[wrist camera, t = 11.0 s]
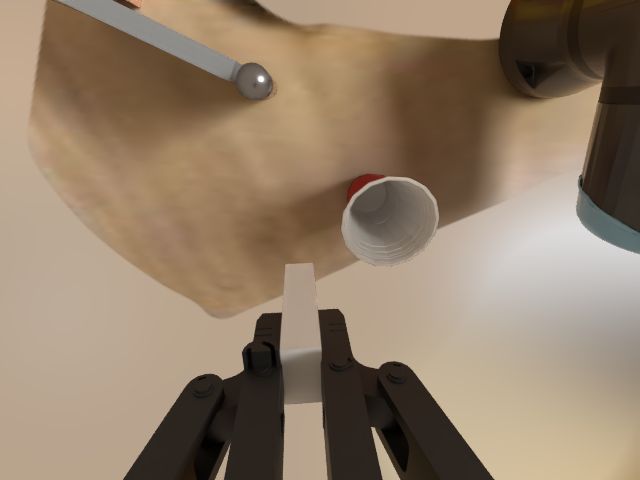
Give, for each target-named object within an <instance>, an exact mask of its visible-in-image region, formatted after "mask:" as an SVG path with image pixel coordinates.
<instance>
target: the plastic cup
mask: <svg viewBox="0 0 640 480" xmlns="http://www.w3.org/2000/svg"><path fill="white" fill-rule="evenodd" d="M438 222H439V212H438V207H437V201H436V199H435V198H434V197H433V195H432V194H431V193H430V191H429V190H428V189H427V187H426V186H424V185H422V184H420V183H418V182H416V181H414V180H413V179H411V178H407V177H390V176H383V175H375V174H366V175H364V176H361V177H359V178H357V179H356V180H355V181H354V182H353V183H352V185H351V187H350V188H349V190H348V202H347V207H346V209H345V210H344V212H343V218H342V227H341V232H342V235H343V238H344V241H345V244H346V247H347V248H348V249H349V250H350V251H351V252H352V253H353V254H354V255H355V256H356V257H357V258H358V259H360V260H362V261H365V262H367V263H369V264H372V265H379V266H393V265H396V264H400V263H403V262H406V261H409V260H410V259H412V258H414V257H415V256H416V255H418V254H419V253H421V252H422V251H424V250H425V248H426V247H427V246H428V244H429V243H430V241H431V240H432V239H433V237H434V236H435V233H436V229H437V225H438Z"/></svg>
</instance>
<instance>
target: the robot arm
mask: <svg viewBox="0 0 640 480" xmlns="http://www.w3.org/2000/svg"><path fill="white" fill-rule="evenodd" d="M499 51H500V59H501V63H502V67H503V70H504V72H505V74H506V76H507V78H508V79H509V81H510V82H511V83H512V85H513V86H514V87H515V88H517V89H518V90H519V91H521V92H522V93H524V94H526V95H529V96H532V97H538V98H558V97H564V96H569V95H572V94H575V93H577V92H580V91H582V90H585V89H587V88H589V87H592V86H594V85H596V84H599V83H601V82H602V87H601V92H600V97H599V100H598V104H597V108H596V113H595V117H594V122H593V126H592V131H591V135H590V140H589V144H588V149H587V153H586V157H585V162H584V166H583V171H582V174H581V175H580V176H579V180H578V188H579V194H578V200H577V205H576V211H577V215H578V217H579V218H580V221H581V223H582V224H583V226H585V228H587V229H588V230H589V231H590V232H591V233H593V234H594V235H595V236H597V237H599V238H600V239H602V240H604V241H606V242H608V243H610V244H613V245H615V246H617V247H620V248H622V249H625V250H628V251H631V252H634V253H637V254H640V0H511V2H510V4H509V6H508V8H507V11H506V13H505V16H504V19H503V23H502V27H501V32H500V41H499ZM242 356H243V364H244V370H243V371H242V372H241V373H239V374H238V375H236V376H233V377H231V378H228V379H224V380H222V379H221V378H220V377H219V376H217V375H214V374H204V375H201V376H198V377H196V378H195V379H193V380H191V381H190V382H189V383H188V384H187V386H186V387H185V388H184V390H183V391H182V393H181V394H180V396H179V397H178V399H177V400H176V402H175V403H174V405H173V406H172V408H171V409H170V411H169V412H168V414H167V415H166V417H165V418H164V420H163V421H162V422H161V424H160V425H159V427H158V428H157V430H156V431H155V433H154V434H153V436H152V437H151V439H150V440H149V442H148V443H147V445H146V446H145V448H144V450H143V451H142V452H141V454H140V455H139V457H138V458H137V460H136V461H135V463H134V464H133V466H132V467H131V469H130V470H129V472H128V473H127V475H126V476H125V477H124V479H123V480H215V478H216V475H217V473H218V471H219V468H220V466H221V464H222V462H223V459H224V457H225V455H226V452H227V450H228V447H229V445H230V443H231V445H230V450H229V455H228V461H227V466H226V472H225V477H224V480H283V452H284V422H285V415H284V404H299V403H312V402H313V403H314V402H322V403H323V404H322V405H323V428H324V438H325V450H326V463H327V476H328V480H383V479H382V475H381V470H380V466H379V461H378V457H377V452H376V448H375V444H374V439H373V434H372V430H371V427H375V429H376V432H377V434H378V436H379V438H380V440H381V442H382V444H383V446H384V448H385V450H386V452H387V454H388V455H389V457H390V460H391V462H392V464H393V466H394V468H395V470H396V472H397V474H398V476H399V478H400V480H494V479H493V478H492V476H491V475H490V473H489V472H488V471H487V469H486V468H485V467H484V465H483V464H482V463H481V461H480V460H479V459H478V458H477V456H476V455H475V453H474V452H473V451H472V449H471V448H470V447H469V445H468V444H467V443H466V441H465V440H464V439H463V437H462V436H461V435H460V433H459V432H458V431H457V429H456V428H455V427H454V425H453V424H452V423H451V421H450V420H449V419H448V417H447V416H446V414H445V413H444V412H443V410H442V409H441V408H440V406H439V405H438V404H437V403H436V401H435V400H434V398H433V397H432V396H431V394H430V393H429V392H428V391H427V389H426V388H425V386H424V385H423V384H422V382H421V381H420V380H419V379H418V377H417V376H416V374H415V373H414V372H413V370H411V369H410V368H409V367H408V366H407V365H405V364H403V363H400V362H395V361H393V362H387V363H384V364H382V365H381V367H380V368H379V369H375V368H370V367H366V366H364V365H362V364H360V363H358V362H357V361H356V360H355V359H354V357H353V355H352V351H351V346H350V342H349V338H348V333H347V328H346V323H345V318H344V315H343V314H342V313H341V312H340V310H339V309H327V310H318V307H317V298H316V287H315V277H314V267H313V263H298V264H285V278H284V293H283V308H282V313H265V314H262V315H261V316H260V317H259V319H258V320H257V323H256V329H255V334H254V340H253V342H251V343H249V344H248V345H247V346H246V347H245V348H244V349H243V352H242Z"/></svg>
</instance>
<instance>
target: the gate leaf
mask: <svg viewBox="0 0 640 480" xmlns="http://www.w3.org/2000/svg"><path fill="white" fill-rule="evenodd" d="M53 1H55V2H58V3H60V4H63V5H65V6H68V7H70V8H72V9H75V10H77V11H80V12H82V13H85V14H87V15H89V16H92V17H94V18H96V19H98V20H100V21H102V22H104V23H107V24H109V25H111V26H113V27H115V28H117V29H119V30H121V31H123V32H125V33H128V34H130V35H132V36H134V37H136V38H138V39H140V40H142V41H144V42H147V43H149V44H151V45H153V46H155V47H157V48H159V49H161V50H163V51H165V52H168V53H170V54H172V55H174V56H176V57H178V58H180V59H182V60H184V61H187V62H189V63H191V64H193V65H195V66H197V67H199V68H201V69H203V70H206V71H208V72H210V73H212V74H214V75H216V76H218V77H220V78H222V79H224V80H227V81H229V82H232V83H236V75H237V72H238V70H239V69H240V68H241V66H242V65H241V64H239V63H238V62H236V61H235V60H233V59H231V58H229V57H227V56H225V55H223V54H221V53H219V52H217V51H214V50H212V49H210V48H208V47H206V46H204V45H202V44H200V43H198V42H196V41H194V40H192V39H190V38H188V37H186V36H184V35H182V34H180V33H178V32H176V31H174V30H172V29H170V28H168V27H166V26H164V25H162V24H160V23H158V22H156V21H154V20H152V19H150V18H148V17H146V16H143V15H141V14H139V13H137V12H135V11H133V10H131V9H129V8H127V7H125V6H123V5H121V4H119V3H117V2H115V1H113V0H53Z"/></svg>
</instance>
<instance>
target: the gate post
mask: <svg viewBox="0 0 640 480" xmlns="http://www.w3.org/2000/svg"><path fill="white" fill-rule="evenodd" d="M236 84H237V87H238V90H239V91H240V93H241V94H242V95H243V96H245V97H246V98H248V99H252V100H258V99H267V98H271V97H273V96H274V95H275V94H276V91H277V86H276V83H275V81H274V80H273V79H272V77H271V76H270V75H269V74H268V72H267V71H266V70H265V69H264V68H263V67H262V66H261V65H259V64H257V63H247V64H244V65H243V66H241V68H240V69H239V70H238V72H237V75H236Z"/></svg>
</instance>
